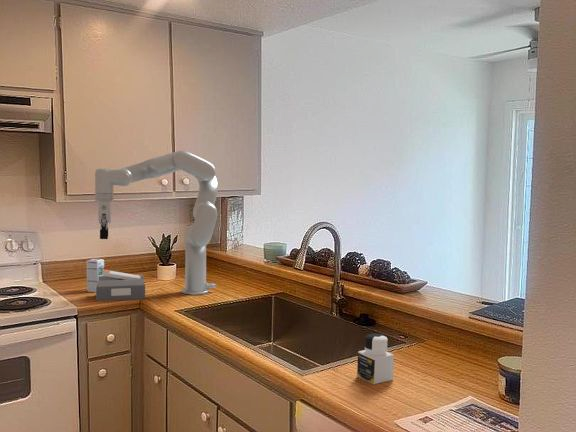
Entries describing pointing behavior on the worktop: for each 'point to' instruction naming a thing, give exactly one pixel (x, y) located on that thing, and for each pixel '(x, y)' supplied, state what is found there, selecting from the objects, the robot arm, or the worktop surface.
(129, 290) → the breaker box
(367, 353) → the medicine bottle
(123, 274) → the rocker switch
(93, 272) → the syrup box
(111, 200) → the robot arm
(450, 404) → the worktop surface
